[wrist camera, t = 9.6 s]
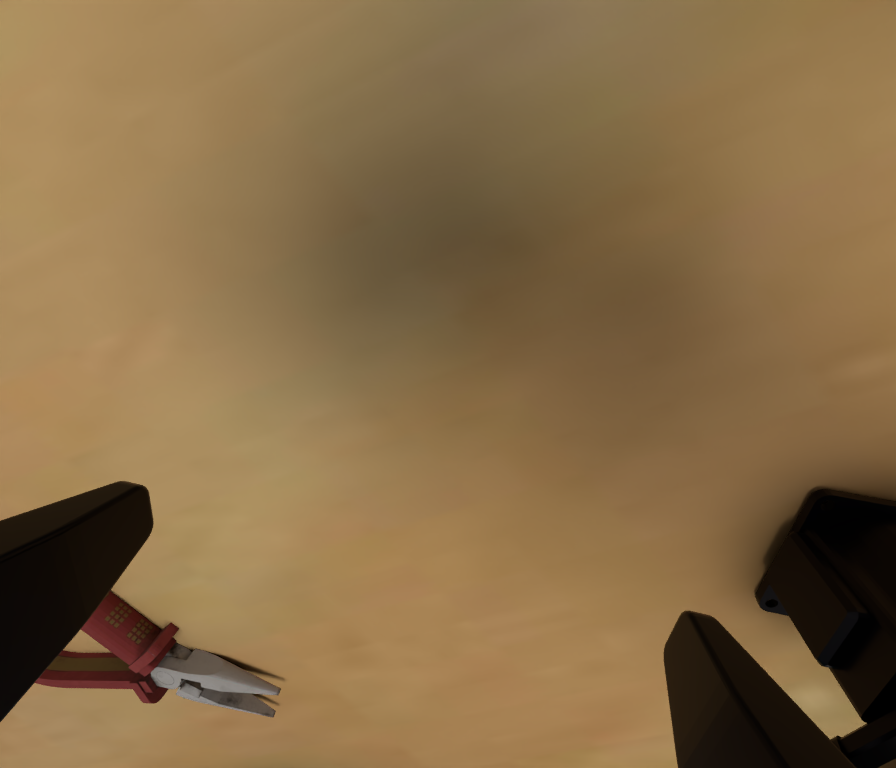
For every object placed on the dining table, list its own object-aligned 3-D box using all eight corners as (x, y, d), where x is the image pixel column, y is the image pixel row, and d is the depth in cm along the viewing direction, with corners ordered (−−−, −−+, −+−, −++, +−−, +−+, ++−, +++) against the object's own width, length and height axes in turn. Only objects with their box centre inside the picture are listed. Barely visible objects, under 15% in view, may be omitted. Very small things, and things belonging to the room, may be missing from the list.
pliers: (275, 731, 33) (255, 774, 30) (16, 636, 33) (-24, 670, 31) (300, 629, 28) (279, 669, 26) (-3, 519, 28) (-51, 549, 26)
